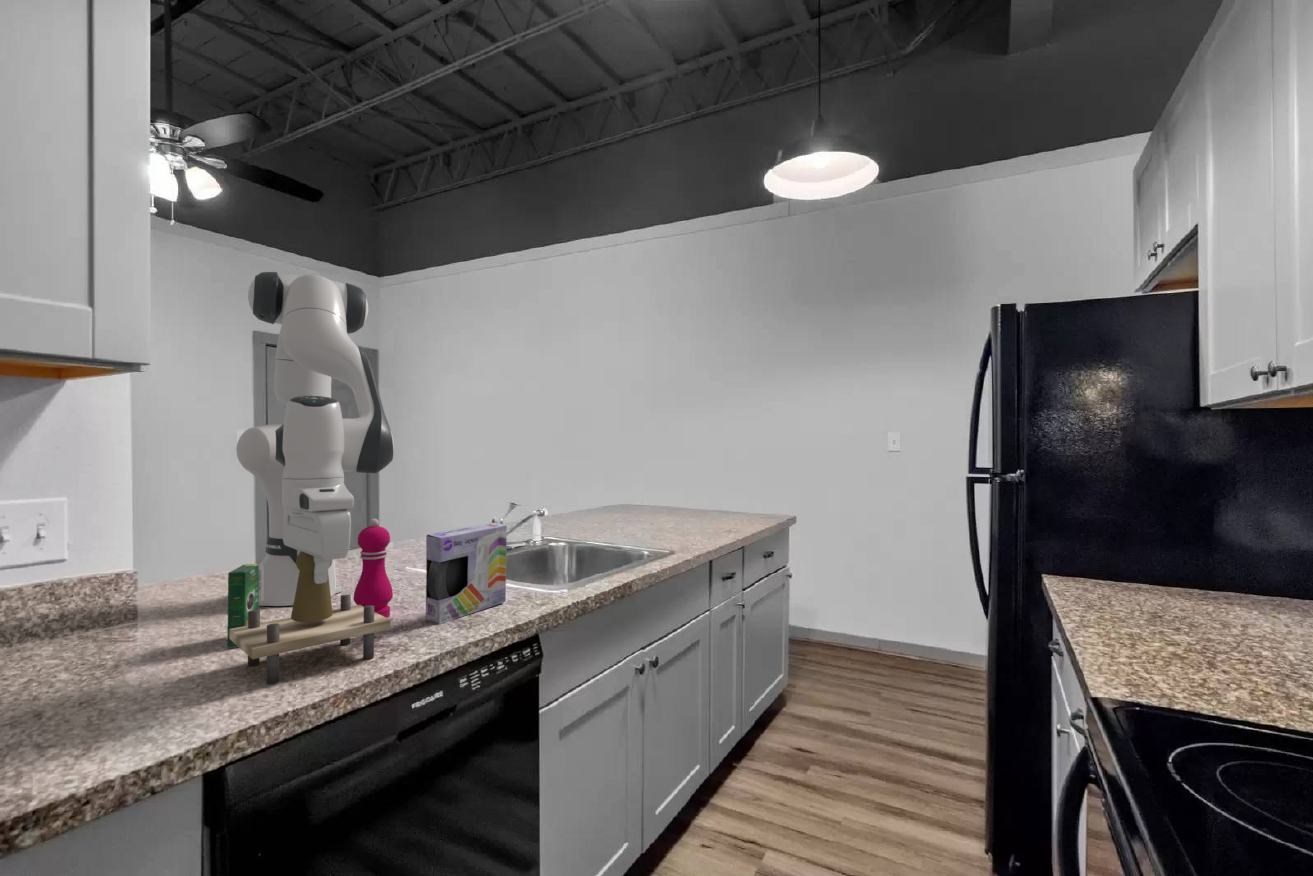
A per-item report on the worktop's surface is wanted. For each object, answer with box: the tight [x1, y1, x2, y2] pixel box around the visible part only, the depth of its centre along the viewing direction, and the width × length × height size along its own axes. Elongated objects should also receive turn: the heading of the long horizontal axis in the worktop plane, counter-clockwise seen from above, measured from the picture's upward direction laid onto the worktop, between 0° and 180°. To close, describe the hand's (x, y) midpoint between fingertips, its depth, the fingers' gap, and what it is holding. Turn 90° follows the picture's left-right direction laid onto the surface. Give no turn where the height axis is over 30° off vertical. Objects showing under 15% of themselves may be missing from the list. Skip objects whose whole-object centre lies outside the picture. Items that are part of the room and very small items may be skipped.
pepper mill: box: [353, 518, 394, 619], centre depth 125 cm, size 7×7×20 cm
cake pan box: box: [425, 522, 508, 625], centre depth 129 cm, size 19×5×18 cm, turn 148°
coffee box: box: [226, 563, 260, 649], centre depth 111 cm, size 8×3×13 cm, turn 17°
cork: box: [290, 552, 333, 622], centre depth 101 cm, size 6×6×11 cm
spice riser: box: [229, 593, 392, 685], centre depth 101 cm, size 13×20×8 cm, turn 137°
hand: (313, 579), depth 101 cm, fingers closed on cork, 4 cm apart
